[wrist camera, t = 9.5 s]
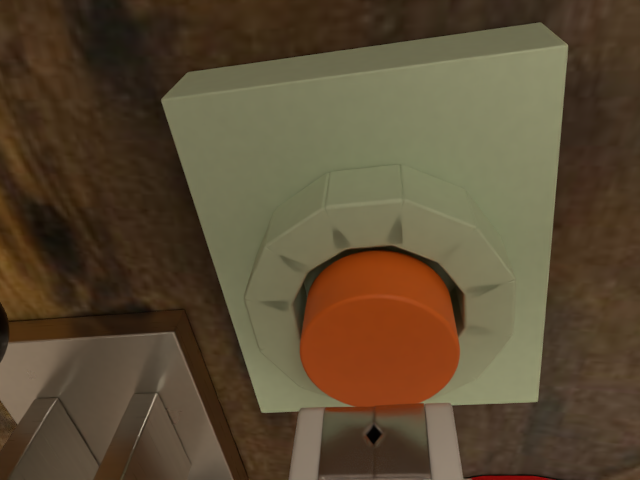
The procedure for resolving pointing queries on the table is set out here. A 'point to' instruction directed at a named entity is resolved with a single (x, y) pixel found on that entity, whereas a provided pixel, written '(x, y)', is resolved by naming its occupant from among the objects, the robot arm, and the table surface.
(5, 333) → the switch lever
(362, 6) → the table surface
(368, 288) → the button
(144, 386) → the switch bracket
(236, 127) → the control block
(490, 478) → the kitchen timer
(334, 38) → the table surface
